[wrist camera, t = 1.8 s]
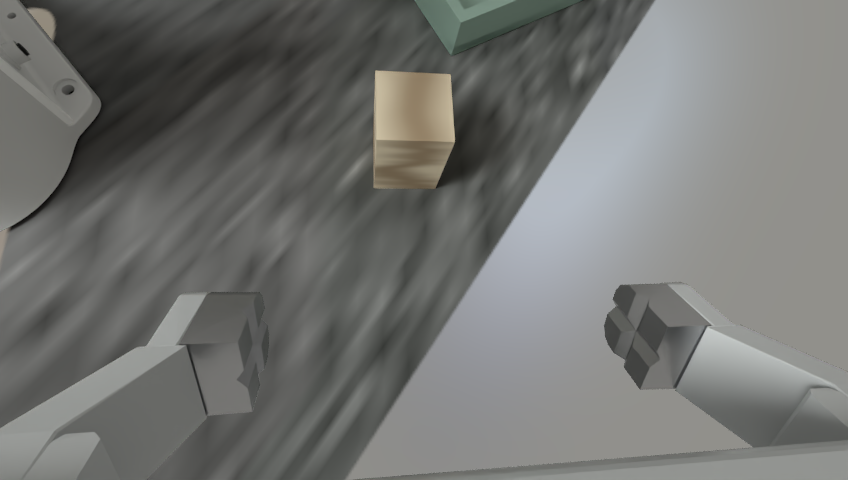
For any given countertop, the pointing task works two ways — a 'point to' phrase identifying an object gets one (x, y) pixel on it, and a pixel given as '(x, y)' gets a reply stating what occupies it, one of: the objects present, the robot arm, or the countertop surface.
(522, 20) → the tray
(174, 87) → the countertop surface
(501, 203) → the countertop surface
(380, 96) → the maple block
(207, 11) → the countertop surface
